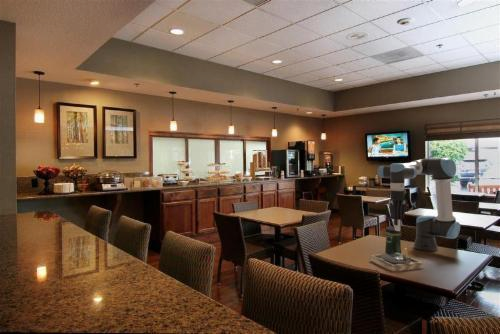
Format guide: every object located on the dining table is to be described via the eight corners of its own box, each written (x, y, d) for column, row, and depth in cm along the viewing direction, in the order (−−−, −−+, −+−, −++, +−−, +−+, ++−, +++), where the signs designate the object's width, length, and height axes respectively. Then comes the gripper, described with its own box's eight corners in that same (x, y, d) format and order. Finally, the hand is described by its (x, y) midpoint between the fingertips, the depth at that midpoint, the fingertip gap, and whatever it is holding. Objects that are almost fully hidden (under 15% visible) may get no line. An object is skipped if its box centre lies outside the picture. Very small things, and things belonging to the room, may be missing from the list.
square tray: (398, 258, 207) (398, 252, 207) (422, 268, 188) (422, 261, 188) (371, 260, 202) (371, 254, 202) (393, 271, 183) (393, 264, 183)
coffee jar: (403, 256, 212) (403, 228, 211) (394, 257, 209) (394, 229, 208) (392, 252, 221) (392, 225, 220) (383, 253, 218) (383, 226, 217)
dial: (375, 258, 199) (375, 244, 199) (394, 255, 206) (394, 241, 206) (397, 266, 184) (397, 250, 184) (416, 262, 191) (416, 247, 191)
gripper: (393, 191, 180) (393, 233, 181) (411, 190, 185) (411, 230, 185) (383, 190, 187) (383, 230, 188) (401, 188, 192) (401, 228, 192)
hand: (397, 230), depth 187 cm, fingers closed
